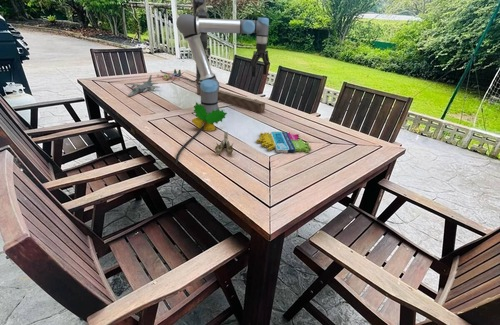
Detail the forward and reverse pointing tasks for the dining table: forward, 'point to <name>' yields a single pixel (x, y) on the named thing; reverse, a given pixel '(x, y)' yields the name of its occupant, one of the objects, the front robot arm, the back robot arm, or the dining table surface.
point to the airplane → (142, 87)
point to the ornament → (207, 117)
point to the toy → (171, 75)
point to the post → (238, 101)
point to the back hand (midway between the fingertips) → (203, 61)
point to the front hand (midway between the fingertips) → (259, 75)
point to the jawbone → (224, 145)
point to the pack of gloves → (283, 142)
